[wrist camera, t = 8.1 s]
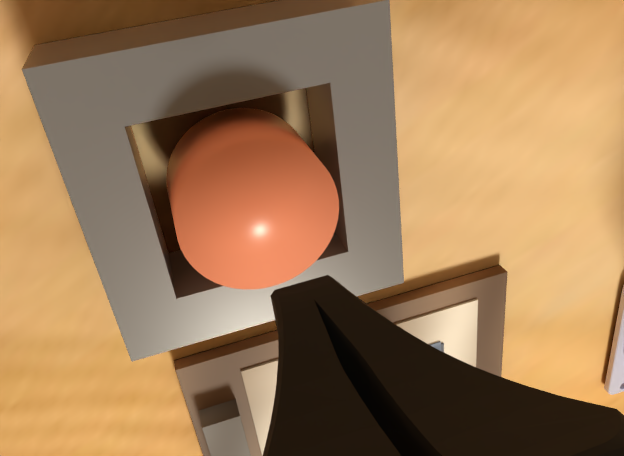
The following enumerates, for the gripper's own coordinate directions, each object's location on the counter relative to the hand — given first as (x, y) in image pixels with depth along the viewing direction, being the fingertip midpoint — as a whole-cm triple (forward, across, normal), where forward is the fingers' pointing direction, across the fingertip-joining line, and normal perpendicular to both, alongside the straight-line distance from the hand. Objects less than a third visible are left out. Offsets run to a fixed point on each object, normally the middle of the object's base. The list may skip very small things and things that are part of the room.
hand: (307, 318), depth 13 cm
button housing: (+9, 0, 0) cm, 9 cm away
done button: (+8, 0, 0) cm, 8 cm away
